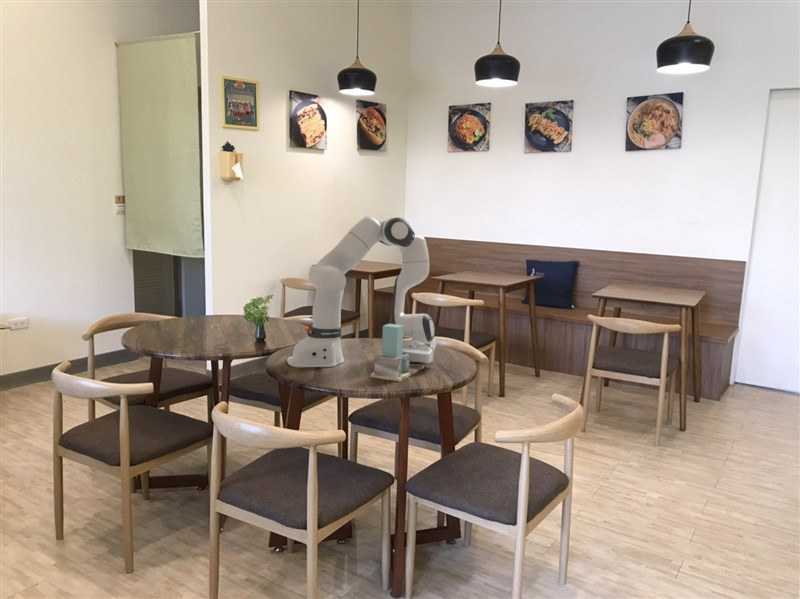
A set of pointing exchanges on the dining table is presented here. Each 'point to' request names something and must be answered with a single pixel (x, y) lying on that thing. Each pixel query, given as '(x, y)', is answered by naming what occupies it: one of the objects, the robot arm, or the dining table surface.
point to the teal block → (393, 341)
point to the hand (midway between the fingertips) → (398, 358)
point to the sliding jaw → (405, 364)
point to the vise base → (404, 374)
